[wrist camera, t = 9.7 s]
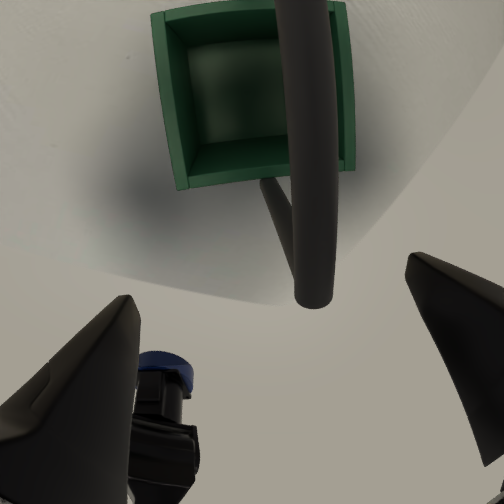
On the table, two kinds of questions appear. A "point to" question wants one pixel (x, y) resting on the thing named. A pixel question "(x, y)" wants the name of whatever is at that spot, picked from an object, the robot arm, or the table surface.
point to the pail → (264, 114)
